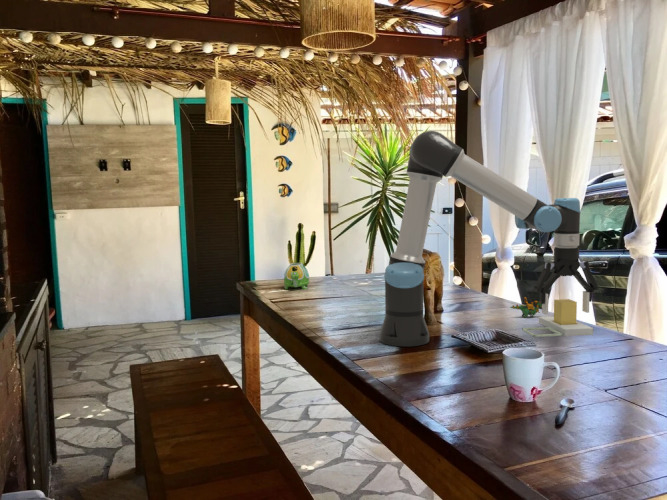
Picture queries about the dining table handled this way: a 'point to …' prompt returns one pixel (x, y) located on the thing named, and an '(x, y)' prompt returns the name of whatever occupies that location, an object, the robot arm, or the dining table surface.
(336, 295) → the dining table surface
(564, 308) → the block
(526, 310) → the figurine
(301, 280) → the turtle holder
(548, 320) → the recessed block
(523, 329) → the tray
